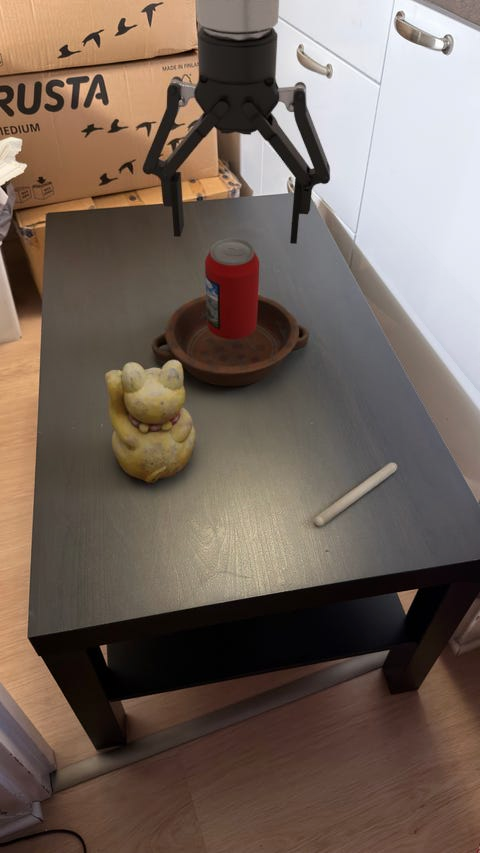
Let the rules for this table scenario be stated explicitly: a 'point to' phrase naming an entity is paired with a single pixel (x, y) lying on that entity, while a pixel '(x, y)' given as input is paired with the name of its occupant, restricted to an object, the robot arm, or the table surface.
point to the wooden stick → (355, 494)
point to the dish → (230, 344)
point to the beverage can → (232, 288)
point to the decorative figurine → (150, 420)
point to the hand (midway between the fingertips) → (236, 234)
